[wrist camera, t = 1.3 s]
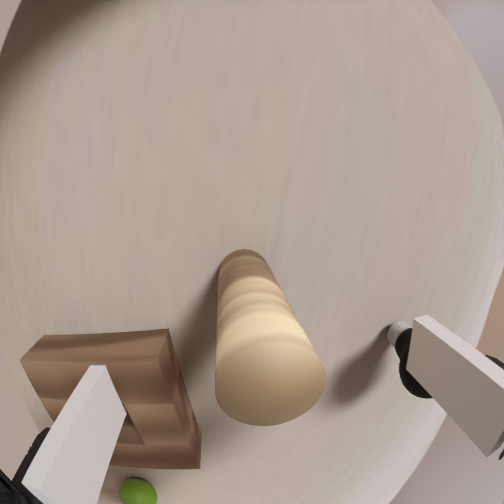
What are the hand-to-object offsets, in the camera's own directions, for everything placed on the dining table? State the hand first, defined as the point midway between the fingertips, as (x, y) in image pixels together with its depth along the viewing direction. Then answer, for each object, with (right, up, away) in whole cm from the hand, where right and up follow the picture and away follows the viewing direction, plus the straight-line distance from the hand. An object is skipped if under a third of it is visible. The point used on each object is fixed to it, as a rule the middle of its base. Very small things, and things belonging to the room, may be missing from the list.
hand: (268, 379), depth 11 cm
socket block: (-14, -9, +14) cm, 22 cm away
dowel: (-1, +3, +12) cm, 13 cm away
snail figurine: (-17, -27, +18) cm, 37 cm away
